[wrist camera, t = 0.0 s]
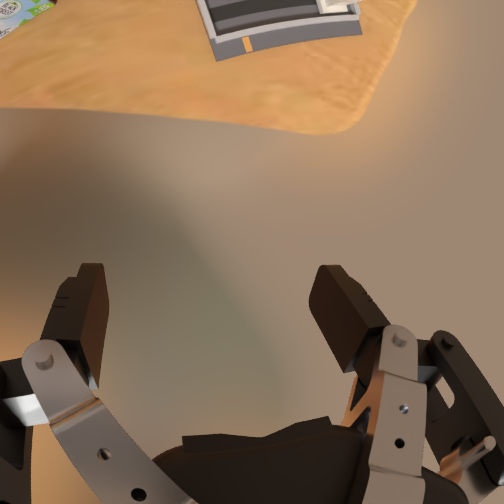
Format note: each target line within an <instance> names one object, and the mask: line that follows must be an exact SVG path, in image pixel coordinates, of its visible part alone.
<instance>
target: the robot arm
mask: <svg viewBox="0 0 504 504" xmlns="http://www.w3.org/2000/svg"><path fill="white" fill-rule="evenodd" d="M309 308H310V311H311V313H312V315H313V317H314V319H315V320H316V322H317V324H318V326H319V328H320V330H321V332H322V333H323V335H324V337H325V339H326V341H327V343H328V345H329V347H330V349H331V350H332V352H333V354H334V356H335V358H336V360H337V362H338V363H339V366H340V367H341V369H342V371H343V373H347V372H352V371H356V373H357V375H356V377H355V378H354V382H353V386H352V389H351V393H350V397H349V401H348V405H347V408H346V412H345V416H344V418H343V421H342V422H341V425H332V424H331V421H330V419H329V417H328V416H326V417H321V418H317V419H312V420H308V421H303V422H298V423H295V424H293V425H291V426H289V427H286V428H284V429H282V430H279V431H277V432H275V433H272V434H270V435H268V436H265V437H247V436H237V435H228V434H210V435H194V436H182V443H183V445H181V446H178V447H174V448H172V449H170V450H167V451H165V452H163V453H161V454H160V455H158V456H156V457H155V458H154V459H152V460H151V459H150V458H149V457H148V456H147V455H146V454H145V453H144V451H143V450H142V449H141V448H140V447H139V446H138V445H137V444H136V443H135V442H134V440H133V439H132V438H131V437H130V436H129V435H128V433H127V432H126V431H125V430H124V429H123V427H122V426H121V425H120V424H119V423H118V421H117V420H116V419H115V418H114V416H113V415H112V414H111V413H110V411H109V410H108V409H107V407H106V406H105V405H104V404H103V402H102V401H101V400H100V399H99V398H96V397H95V396H94V395H93V393H92V392H91V391H90V389H97V390H98V388H99V378H100V369H101V360H102V354H103V347H104V340H105V334H106V328H107V322H108V316H109V298H108V292H107V285H106V279H105V272H104V266H103V264H102V263H82V264H81V266H80V269H79V272H78V274H77V277H68V278H67V279H66V280H65V281H64V282H63V283H62V284H61V285H60V287H59V289H58V291H57V294H56V296H55V299H54V301H53V304H52V308H51V309H50V312H49V315H48V318H47V320H46V323H45V326H44V329H43V332H42V335H41V338H40V340H39V341H36V342H34V343H32V344H31V345H30V346H29V347H28V348H27V349H26V350H25V351H24V353H23V357H21V358H17V359H12V360H7V361H1V362H0V504H31V450H32V435H33V425H38V424H44V423H49V422H50V424H49V425H50V428H51V430H52V432H53V434H54V435H55V437H56V439H57V440H58V442H59V444H60V445H61V447H62V448H63V450H64V451H65V453H66V455H67V456H68V458H69V459H70V461H71V462H72V464H73V465H74V467H75V468H76V469H77V471H78V472H79V473H80V475H81V476H82V478H83V479H84V480H85V482H86V483H87V485H88V486H89V487H90V488H91V490H92V491H93V492H94V494H95V495H96V496H97V497H98V498H99V500H100V501H101V502H102V503H103V504H478V503H479V502H480V501H482V500H483V499H484V498H485V497H487V496H488V495H489V494H490V493H492V492H494V491H496V490H497V489H499V488H501V487H502V486H504V407H503V405H502V403H501V402H500V400H499V399H498V397H497V395H496V394H495V392H494V391H493V389H492V388H491V386H490V385H489V383H488V382H487V380H486V379H485V377H484V376H483V374H482V373H481V371H480V370H479V368H478V367H477V366H476V364H475V363H474V361H473V360H472V359H471V357H470V356H469V354H468V353H467V352H466V351H465V349H464V347H463V346H462V345H461V343H460V342H459V341H458V340H457V338H456V337H455V336H453V335H452V334H450V333H449V332H446V331H442V330H439V331H436V332H435V333H434V334H433V336H432V337H431V339H430V340H420V339H416V338H415V336H414V335H413V334H412V332H411V331H409V330H408V329H406V328H405V327H402V326H399V325H391V324H390V322H389V321H388V320H387V318H386V317H385V316H384V314H383V313H382V312H381V310H380V309H379V308H378V307H377V305H376V304H375V302H373V300H372V299H371V297H370V296H369V295H367V292H366V291H365V289H364V288H363V287H362V285H361V284H359V283H358V282H357V281H355V280H354V279H353V278H351V277H349V276H348V274H347V273H346V272H345V271H344V269H343V268H342V267H341V266H340V265H321V266H320V267H319V269H318V272H317V274H316V277H315V281H314V284H313V287H312V290H311V293H310V296H309ZM441 377H444V379H445V380H446V382H447V383H448V385H449V387H450V388H451V390H452V391H453V393H454V397H455V400H454V404H453V405H452V407H451V408H450V409H449V408H448V406H447V404H446V403H445V401H444V399H443V397H442V396H441V394H440V393H439V391H438V389H437V388H436V386H435V385H436V384H437V382H438V381H439V380H440V379H441ZM425 437H426V439H427V441H428V443H429V445H430V447H431V449H432V451H433V453H434V455H435V457H436V460H437V462H438V464H439V466H440V471H438V472H437V473H435V472H433V471H431V470H429V469H427V468H425V467H423V466H422V459H423V449H424V439H425Z"/></svg>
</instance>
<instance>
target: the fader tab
mask: <svg viewBox="0 0 504 504" xmlns="http://www.w3.org/2000/svg"><path fill="white" fill-rule="evenodd" d="M359 1H362V0H316V2H317V5H318V8H319V12H320V14H326V13H340V12H347V11H348V9H347V6H346V5H349V4H352V3H355V2H359Z"/></svg>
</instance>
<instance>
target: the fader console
mask: <svg viewBox="0 0 504 504" xmlns="http://www.w3.org/2000/svg"><path fill="white" fill-rule="evenodd" d="M195 1H196V4H197V7H198V9H199V12H200V15H201V18H202V21H203V24H204V27H205V30H206V33H207V36H208V39H209V41H210V44H211V47H212V50H213V53H214V56H215V59H216V62H218V61H221V60H225V59H228V58H232V57H235V56H239V55H243V54H247V53H251V52H255V51H259V50H263V49H268V48H273V47H277V46H282V45H288V44H293V43H299V42H305V41H311V40H318V39H326V38H334V37H343V36H354V35H362V31H361V27H360V23H359V20H360V19H359V16H358V15H361V12H360V8H359V5H358V2H355V3H352V4H349V5H346V6H347V9H348V11H347V12H340V13H326V14H320V12H319V8H318V5H317V2H316V0H195Z"/></svg>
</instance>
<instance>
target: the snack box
mask: <svg viewBox="0 0 504 504" xmlns="http://www.w3.org/2000/svg"><path fill="white" fill-rule="evenodd" d="M54 5H55V3H54V0H0V39H1V38H2V37H4V36H5V35H7V34H8V33H10V32H11V31H13V30H14V29H16V28H17V27H19V26H20V25H22V24H23V23H25V22H27V21H28V20H30V19H32V18H33V17H35V16H37V15H38V14H40V13H42V12H43V11H45V10H47V9H49V8H51V7H53V6H54Z"/></svg>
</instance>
